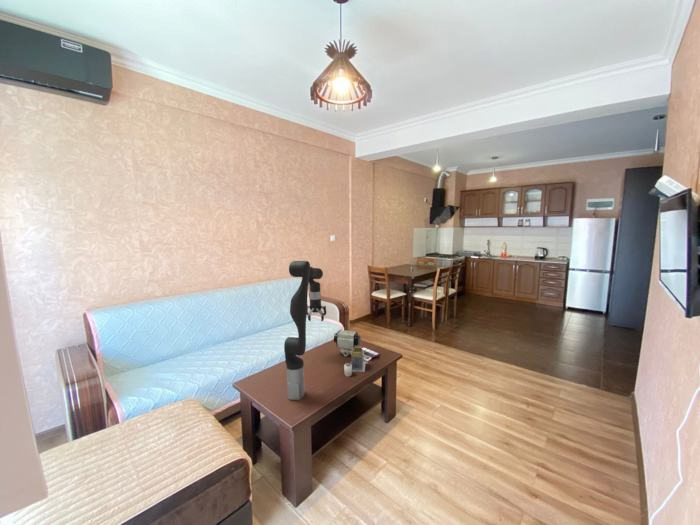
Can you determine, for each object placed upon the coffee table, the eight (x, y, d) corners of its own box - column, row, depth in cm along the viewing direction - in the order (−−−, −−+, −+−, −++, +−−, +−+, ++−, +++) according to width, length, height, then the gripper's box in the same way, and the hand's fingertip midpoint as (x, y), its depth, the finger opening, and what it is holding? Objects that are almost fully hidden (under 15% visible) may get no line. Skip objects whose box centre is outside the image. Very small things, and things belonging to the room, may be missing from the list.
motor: (364, 372, 187) (364, 354, 185) (348, 371, 188) (348, 353, 186) (365, 362, 199) (365, 345, 197) (351, 361, 200) (350, 345, 198)
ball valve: (333, 355, 210) (332, 331, 207) (337, 350, 218) (336, 327, 215) (357, 358, 205) (357, 334, 202) (360, 353, 213) (360, 329, 210)
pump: (351, 376, 182) (351, 365, 181) (343, 376, 183) (343, 365, 182) (352, 372, 187) (352, 362, 186) (344, 372, 187) (344, 361, 186)
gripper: (303, 299, 196) (304, 322, 198) (324, 299, 195) (325, 322, 197) (306, 296, 204) (307, 318, 206) (326, 296, 202) (327, 319, 204)
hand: (316, 320), depth 201 cm, fingers open, 8 cm apart
